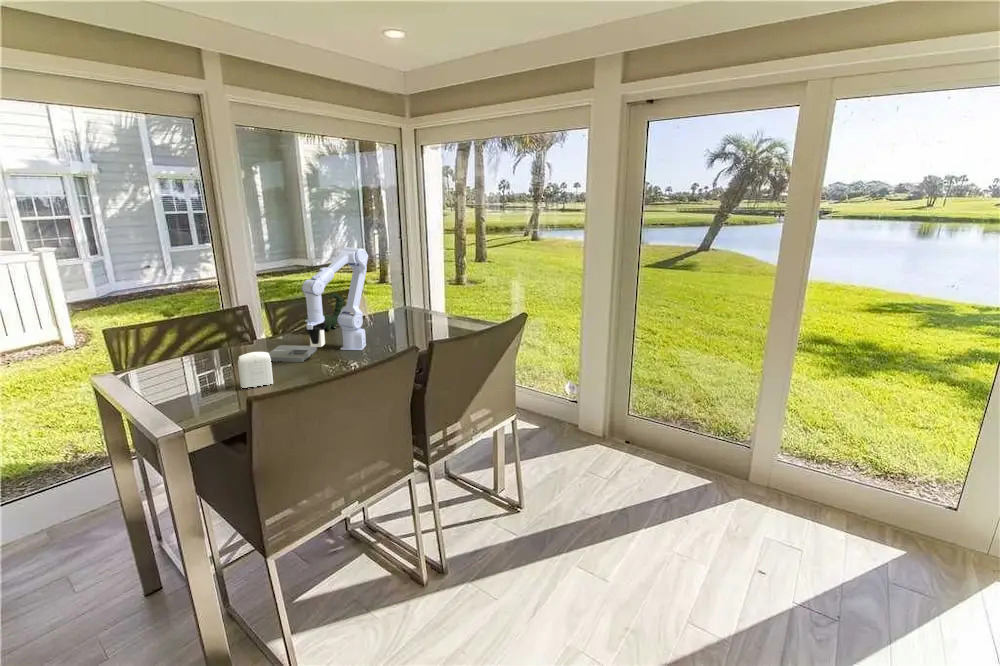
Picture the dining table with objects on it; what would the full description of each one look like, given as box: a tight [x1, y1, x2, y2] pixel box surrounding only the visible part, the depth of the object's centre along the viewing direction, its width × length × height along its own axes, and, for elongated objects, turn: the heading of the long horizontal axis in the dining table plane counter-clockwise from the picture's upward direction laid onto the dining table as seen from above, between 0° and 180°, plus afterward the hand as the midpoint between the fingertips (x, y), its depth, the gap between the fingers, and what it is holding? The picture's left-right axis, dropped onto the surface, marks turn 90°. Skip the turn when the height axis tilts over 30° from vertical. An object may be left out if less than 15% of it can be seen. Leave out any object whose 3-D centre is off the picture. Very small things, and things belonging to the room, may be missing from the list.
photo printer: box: [237, 351, 274, 389], centre depth 161 cm, size 10×4×12 cm, turn 123°
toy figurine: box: [303, 292, 346, 331], centre depth 230 cm, size 9×19×25 cm
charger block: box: [309, 329, 326, 348], centre depth 188 cm, size 4×4×7 cm
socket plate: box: [268, 344, 318, 363], centre depth 194 cm, size 16×16×2 cm
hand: (317, 341), depth 189 cm, fingers closed on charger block, 4 cm apart
